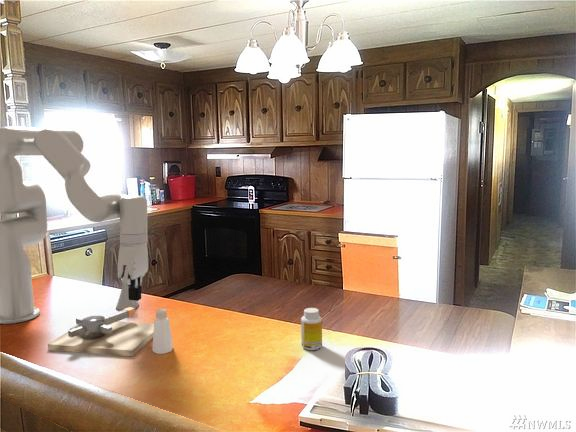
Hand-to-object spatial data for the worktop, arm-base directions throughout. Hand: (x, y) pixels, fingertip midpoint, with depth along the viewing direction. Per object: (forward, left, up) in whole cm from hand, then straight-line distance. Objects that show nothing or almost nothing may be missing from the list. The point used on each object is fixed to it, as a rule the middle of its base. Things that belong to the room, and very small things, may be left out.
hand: (135, 299), depth 131 cm
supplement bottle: (+53, -4, -9) cm, 54 cm away
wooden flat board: (-4, -8, -9) cm, 13 cm away
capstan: (-6, -7, -7) cm, 12 cm away
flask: (-12, +17, -9) cm, 23 cm away
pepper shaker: (+14, -12, -9) cm, 21 cm away
